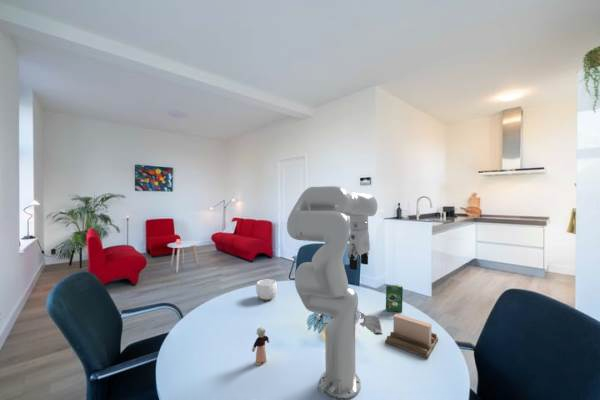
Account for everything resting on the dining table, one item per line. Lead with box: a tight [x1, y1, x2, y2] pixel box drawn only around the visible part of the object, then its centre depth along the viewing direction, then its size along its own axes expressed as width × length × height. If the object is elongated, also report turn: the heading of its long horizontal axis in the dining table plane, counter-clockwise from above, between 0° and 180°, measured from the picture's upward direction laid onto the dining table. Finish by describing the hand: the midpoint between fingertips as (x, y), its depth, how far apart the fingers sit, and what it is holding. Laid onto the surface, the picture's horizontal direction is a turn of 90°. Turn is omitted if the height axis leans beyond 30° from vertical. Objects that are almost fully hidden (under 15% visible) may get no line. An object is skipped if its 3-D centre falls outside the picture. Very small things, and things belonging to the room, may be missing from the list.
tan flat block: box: [393, 313, 432, 345], centre depth 105 cm, size 3×14×8 cm, turn 49°
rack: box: [384, 330, 439, 360], centre depth 105 cm, size 16×16×2 cm
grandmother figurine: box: [251, 326, 271, 367], centre depth 94 cm, size 8×4×13 cm, turn 148°
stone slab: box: [359, 311, 383, 335], centre depth 120 cm, size 18×2×10 cm
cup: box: [255, 278, 278, 301], centre depth 150 cm, size 12×12×10 cm
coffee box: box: [385, 284, 404, 313], centre depth 133 cm, size 8×3×13 cm, turn 79°
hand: (359, 266), depth 108 cm, fingers open, 9 cm apart
